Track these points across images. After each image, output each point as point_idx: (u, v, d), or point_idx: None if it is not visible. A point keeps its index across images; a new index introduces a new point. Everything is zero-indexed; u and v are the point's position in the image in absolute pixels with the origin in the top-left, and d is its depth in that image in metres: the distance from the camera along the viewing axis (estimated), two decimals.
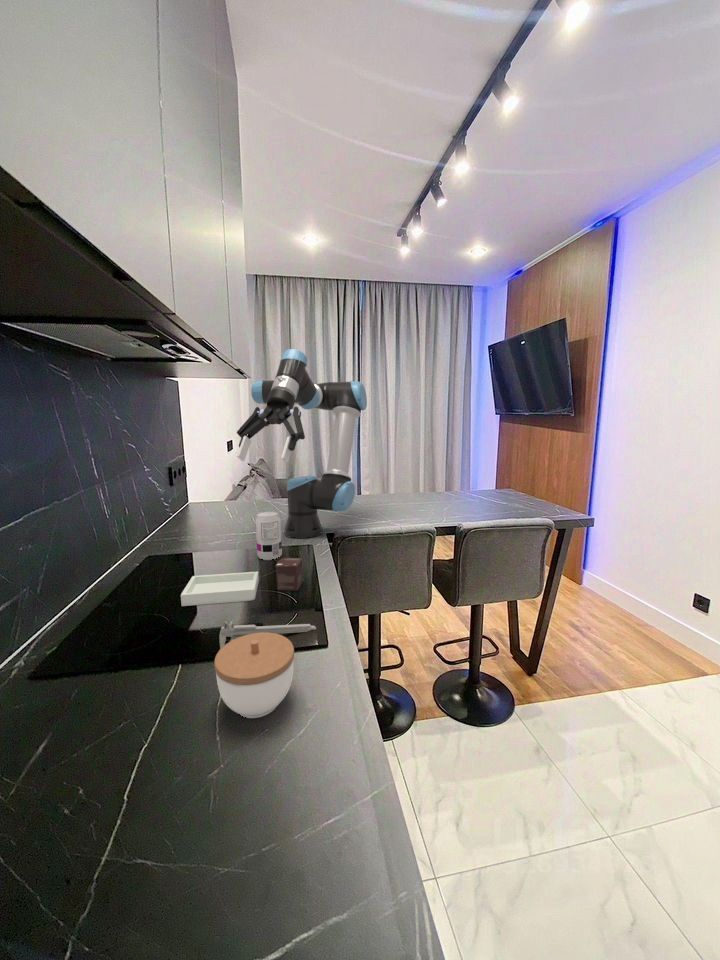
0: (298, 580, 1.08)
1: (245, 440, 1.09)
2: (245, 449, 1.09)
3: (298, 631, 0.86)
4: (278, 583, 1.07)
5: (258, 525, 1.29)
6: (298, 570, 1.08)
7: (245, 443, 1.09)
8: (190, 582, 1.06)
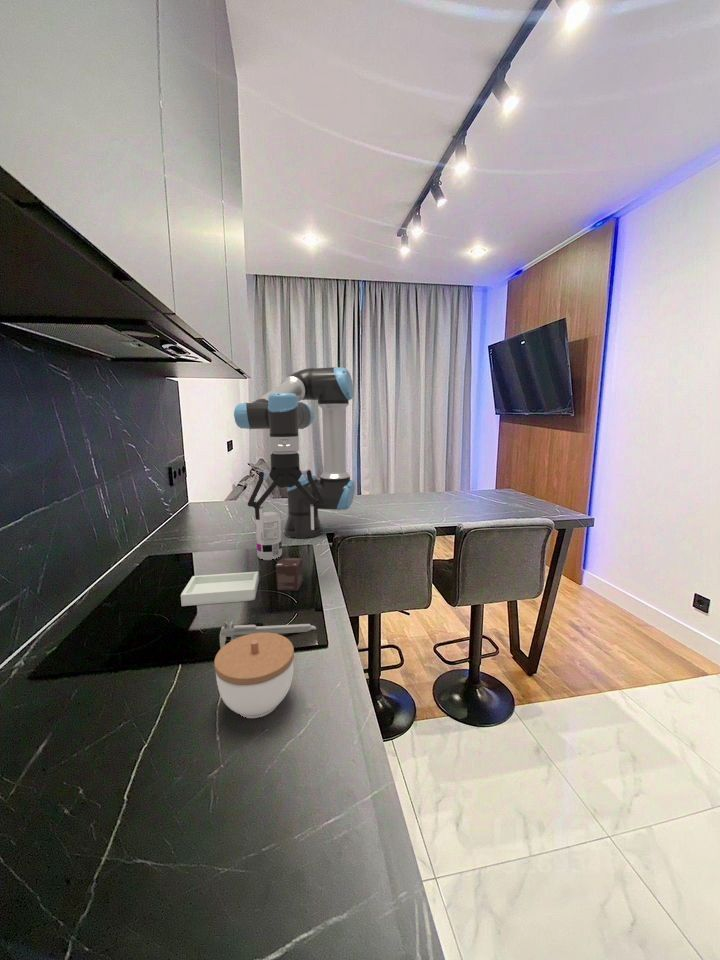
0: (298, 580, 1.08)
1: (262, 513, 1.05)
2: None
3: (298, 631, 0.87)
4: (278, 583, 1.07)
5: (258, 525, 1.29)
6: (298, 570, 1.08)
7: (262, 515, 1.05)
8: (190, 582, 1.06)
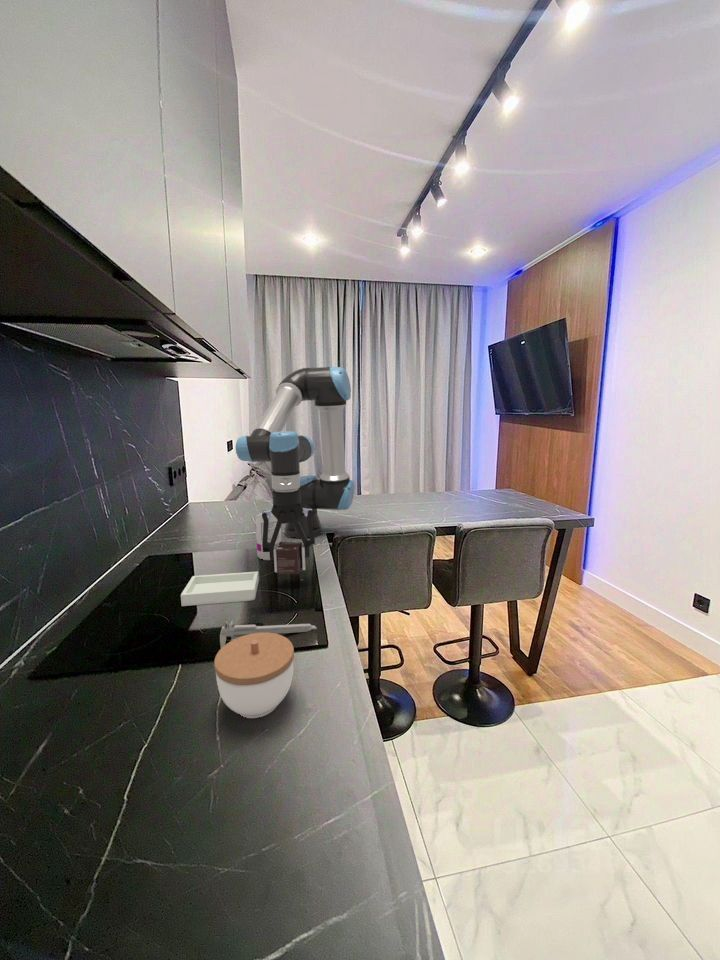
0: (298, 564, 1.08)
1: None
2: None
3: (298, 631, 0.87)
4: (278, 567, 1.07)
5: (258, 525, 1.29)
6: (298, 554, 1.08)
7: None
8: (190, 582, 1.06)
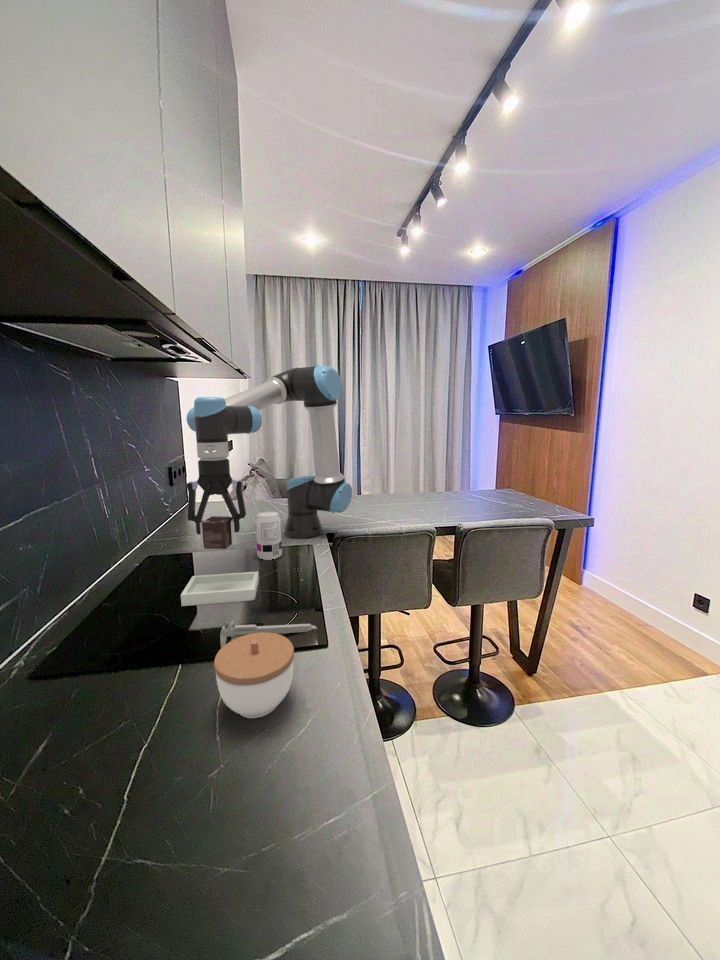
0: (226, 538, 1.02)
1: None
2: None
3: (299, 631, 0.87)
4: (205, 541, 1.01)
5: (258, 525, 1.29)
6: (226, 527, 1.02)
7: None
8: (190, 582, 1.06)
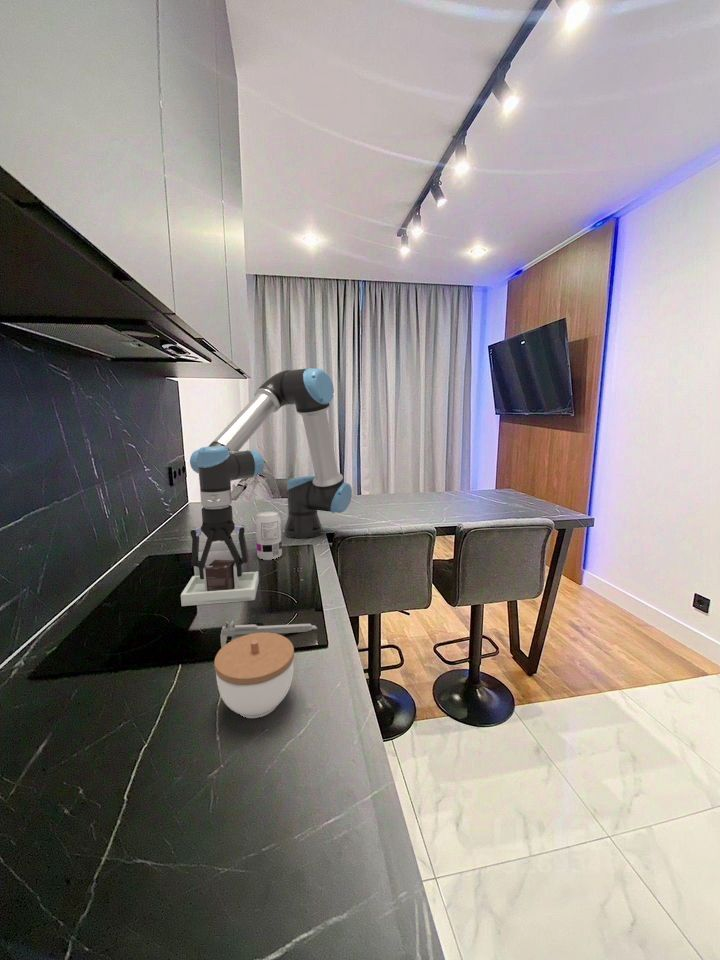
0: (229, 583, 1.04)
1: None
2: None
3: (299, 631, 0.87)
4: (208, 586, 1.03)
5: (258, 525, 1.29)
6: (229, 572, 1.04)
7: None
8: (190, 582, 1.06)
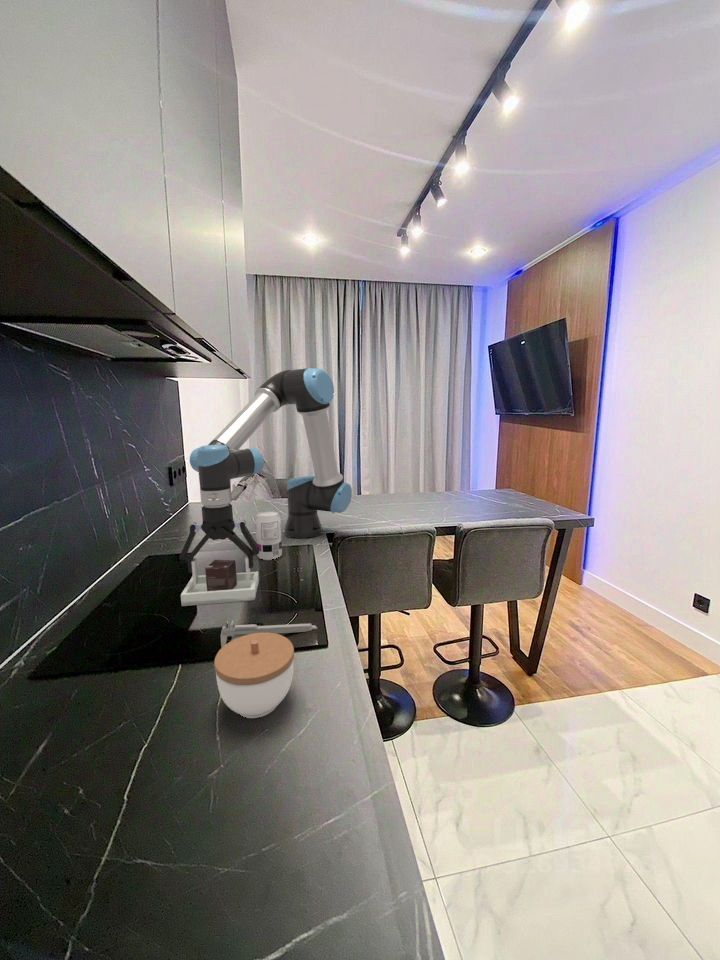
0: (229, 583, 1.04)
1: (195, 565, 1.03)
2: (196, 571, 1.05)
3: (299, 631, 0.87)
4: (208, 586, 1.03)
5: (258, 525, 1.29)
6: (229, 572, 1.04)
7: (195, 567, 1.04)
8: (190, 582, 1.06)
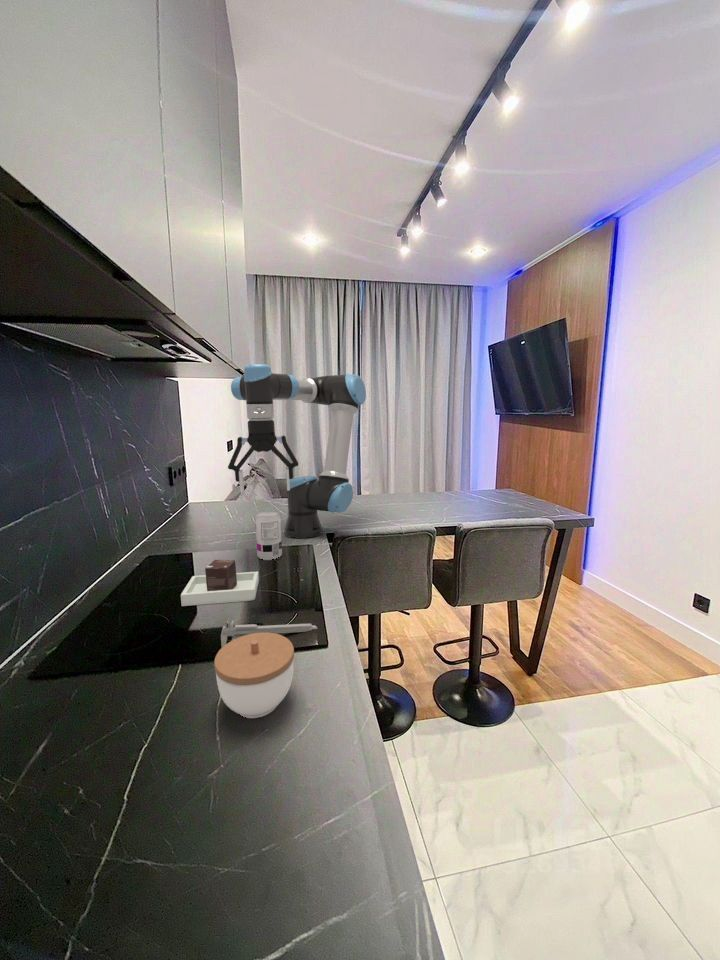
0: (229, 583, 1.04)
1: (241, 475, 1.15)
2: (242, 481, 1.17)
3: (299, 631, 0.87)
4: (208, 586, 1.03)
5: (258, 525, 1.29)
6: (229, 572, 1.04)
7: (242, 477, 1.16)
8: (190, 582, 1.06)
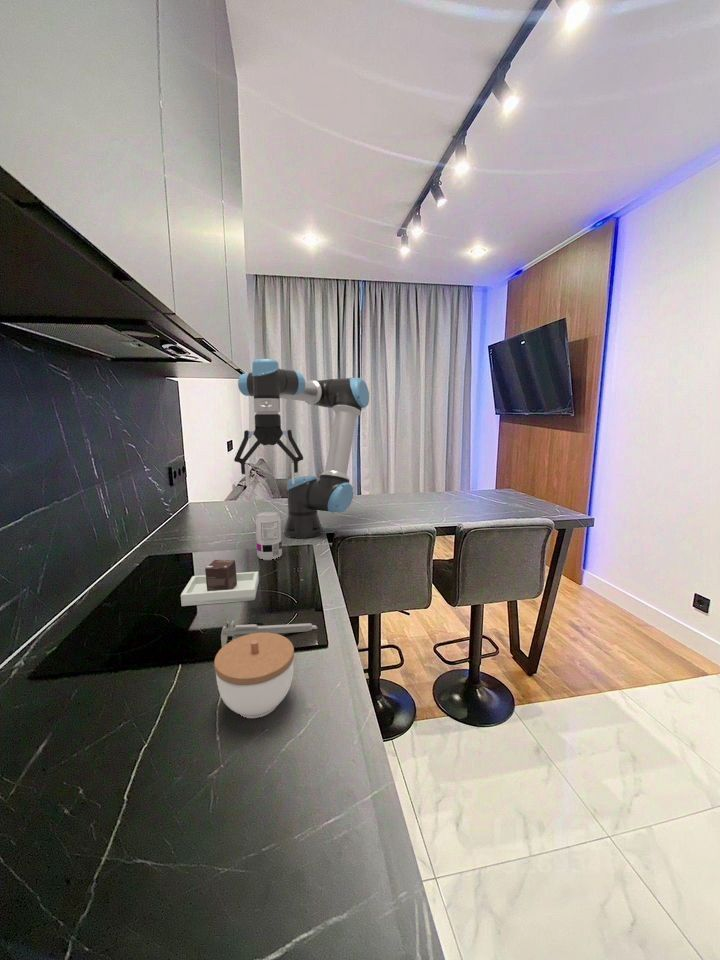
0: (229, 583, 1.04)
1: (247, 468, 1.17)
2: (248, 474, 1.19)
3: (299, 630, 0.87)
4: (208, 586, 1.03)
5: (258, 525, 1.29)
6: (229, 572, 1.04)
7: (247, 470, 1.17)
8: (190, 582, 1.06)
